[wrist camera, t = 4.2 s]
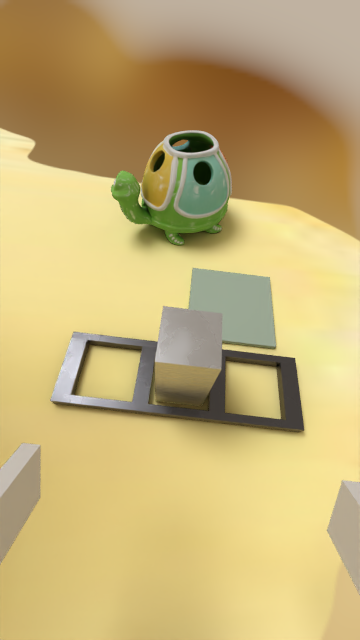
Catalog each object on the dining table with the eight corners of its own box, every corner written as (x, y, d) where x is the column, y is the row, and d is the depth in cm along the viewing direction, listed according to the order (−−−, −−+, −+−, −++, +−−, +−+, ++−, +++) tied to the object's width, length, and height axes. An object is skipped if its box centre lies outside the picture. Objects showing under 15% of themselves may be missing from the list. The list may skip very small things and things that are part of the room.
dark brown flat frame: (53, 403, 29) (50, 400, 28) (76, 336, 33) (73, 331, 32) (299, 432, 29) (304, 430, 28) (290, 362, 34) (295, 358, 33)
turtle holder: (105, 210, 45) (90, 130, 35) (203, 188, 50) (214, 112, 40) (131, 263, 40) (121, 186, 30) (238, 233, 45) (261, 158, 35)
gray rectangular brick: (201, 406, 30) (221, 369, 21) (155, 401, 30) (154, 361, 21) (203, 363, 33) (222, 313, 23) (161, 358, 33) (163, 306, 23)
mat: (274, 348, 34) (276, 346, 34) (185, 338, 34) (186, 335, 34) (268, 279, 40) (269, 277, 40) (192, 270, 40) (192, 267, 39)
